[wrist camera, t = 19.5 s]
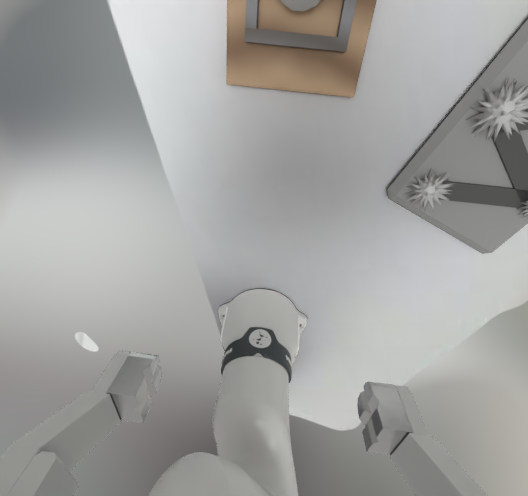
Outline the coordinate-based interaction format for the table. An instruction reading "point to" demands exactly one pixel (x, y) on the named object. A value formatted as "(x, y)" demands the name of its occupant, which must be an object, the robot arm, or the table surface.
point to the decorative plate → (477, 158)
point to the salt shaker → (300, 4)
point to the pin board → (297, 45)
